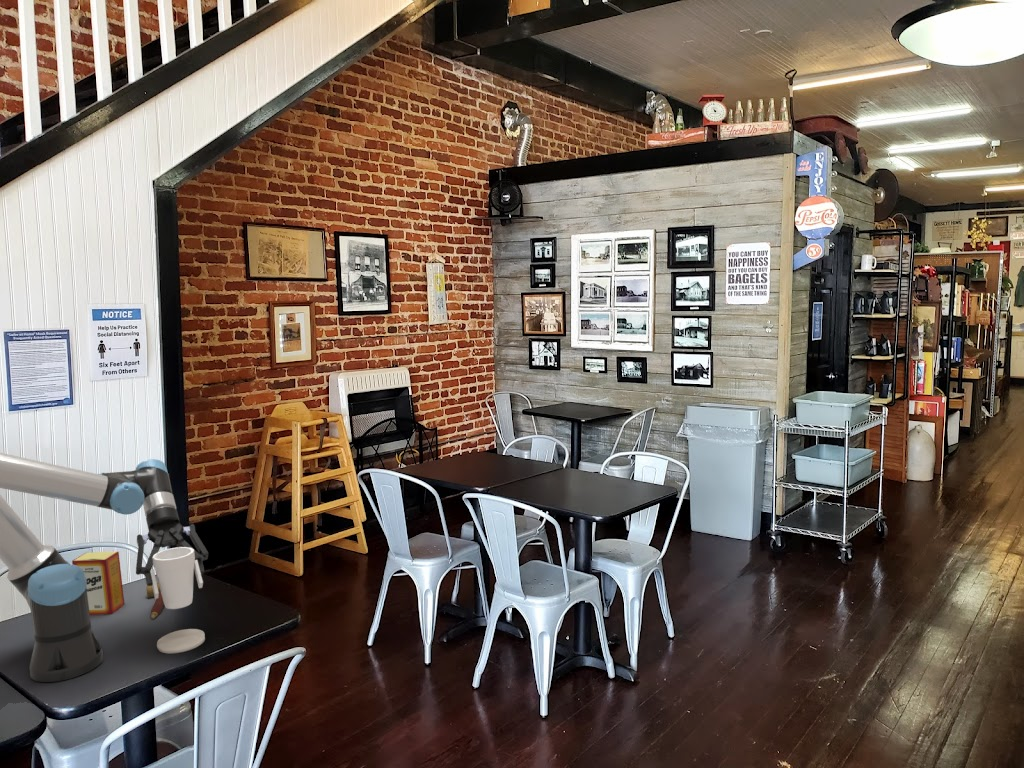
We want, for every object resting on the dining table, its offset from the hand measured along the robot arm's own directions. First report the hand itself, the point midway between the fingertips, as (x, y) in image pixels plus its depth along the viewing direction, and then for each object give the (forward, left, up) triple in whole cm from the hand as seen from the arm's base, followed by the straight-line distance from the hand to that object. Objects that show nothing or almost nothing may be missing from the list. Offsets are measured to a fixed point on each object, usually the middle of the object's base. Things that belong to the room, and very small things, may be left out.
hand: (179, 590), depth 191 cm
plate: (+1, +3, -15) cm, 15 cm away
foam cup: (+1, +3, -5) cm, 5 cm away
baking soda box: (+6, +43, -15) cm, 46 cm away
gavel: (+16, +30, -15) cm, 37 cm away
